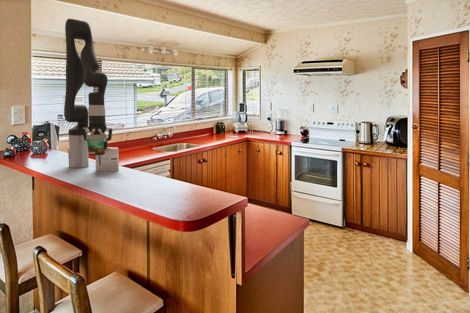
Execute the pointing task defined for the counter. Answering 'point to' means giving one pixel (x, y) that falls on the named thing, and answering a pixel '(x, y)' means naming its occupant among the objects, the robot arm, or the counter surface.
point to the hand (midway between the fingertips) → (98, 149)
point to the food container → (96, 144)
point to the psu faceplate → (108, 160)
